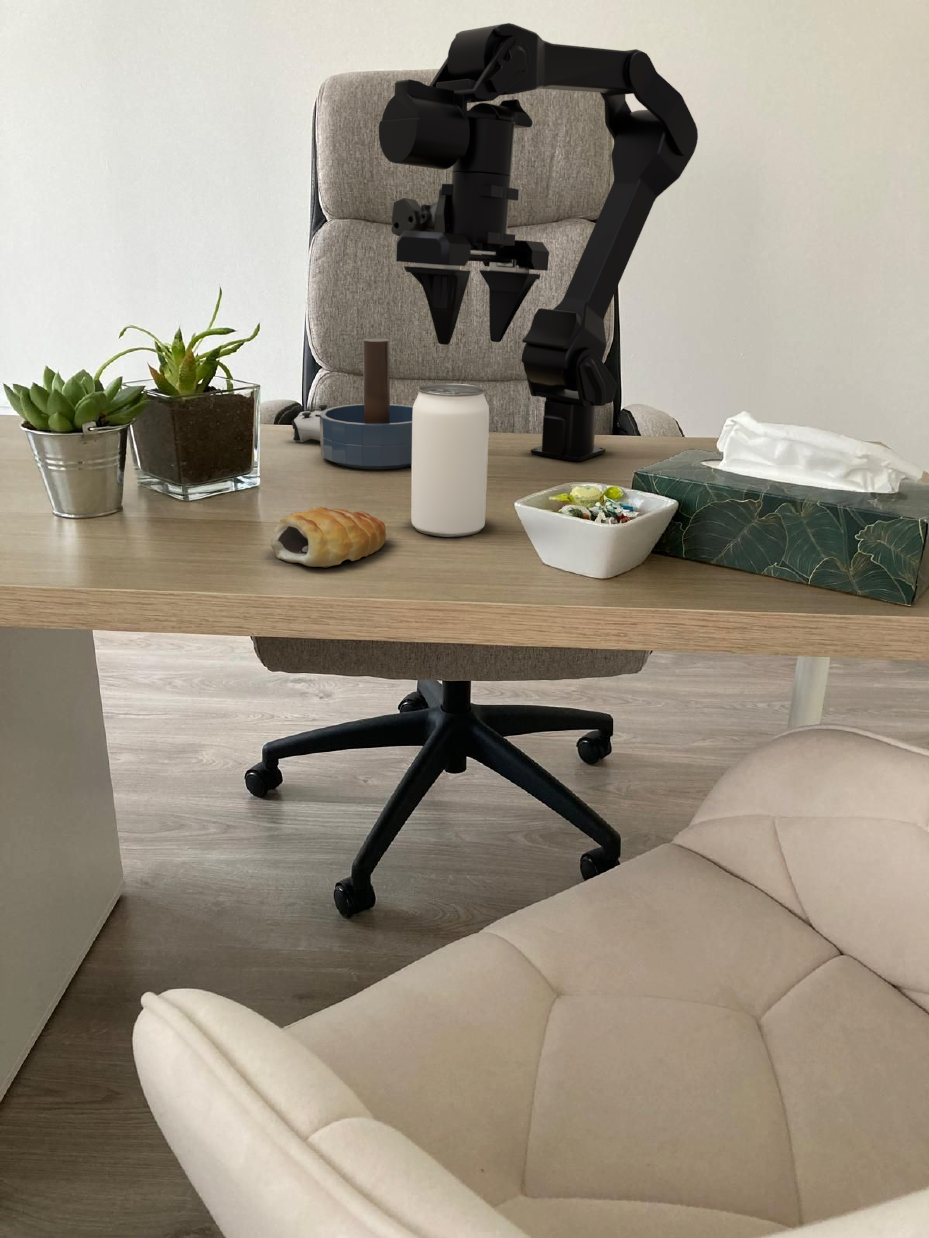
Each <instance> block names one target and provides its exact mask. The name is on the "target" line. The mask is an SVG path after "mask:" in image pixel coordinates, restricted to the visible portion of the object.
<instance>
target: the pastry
mask: <svg viewBox="0 0 929 1238" xmlns="http://www.w3.org/2000/svg"><path fill="white" fill-rule="evenodd" d="M278 521H279V522H278V524H277V526H276V527H275V528H274V530H273V532H272V533H273V534H272V536H271V537H270V547H271V549H272V550H273V552H274V553H275V556H276V558H277V559H278V560H282V561H285V562H287V563H299V564H301V565H304V566H306V567H314V568H316V567H320V568H330V567H332V566H338V565H341V564H342V562H344V561H346V560H349V561H351V562H354V561H357V560H360V559H361V558H362V557H366V558H367V557H368V556H369V555H372V554H373V553H375V552H378V551H379V550H380V549H381V548H382V547H383V545H384V544H385V543H386V540H387V529H386V528H387V527H386V524H385V523H384V521H382V520H380V519H379V518H377V517H375V516H372V515H371V514H370V513H368V512H365V511H361V510H355V511H353V512H352V511H350V510H349V509H346V508H344V509H343V508H341V509H340V508H327V507H321V506H319V507H316V508H310V509H308V510H307V511H297V512H293V513H290V514H289V515H288V516H284V517H281V518H280V519H279V520H278Z"/></svg>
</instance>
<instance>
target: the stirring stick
mask: <svg viewBox="0 0 929 1238" xmlns="http://www.w3.org/2000/svg"><path fill="white" fill-rule="evenodd" d="M390 369H391V367H390V339H388V338H379V337H378V338H376V337H374V338H364V339H362V374H363V404H364V423H370V424H384V423H390V404H391V394H390V393H391V385H390V384H391V382H390V379H391V375H390Z"/></svg>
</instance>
